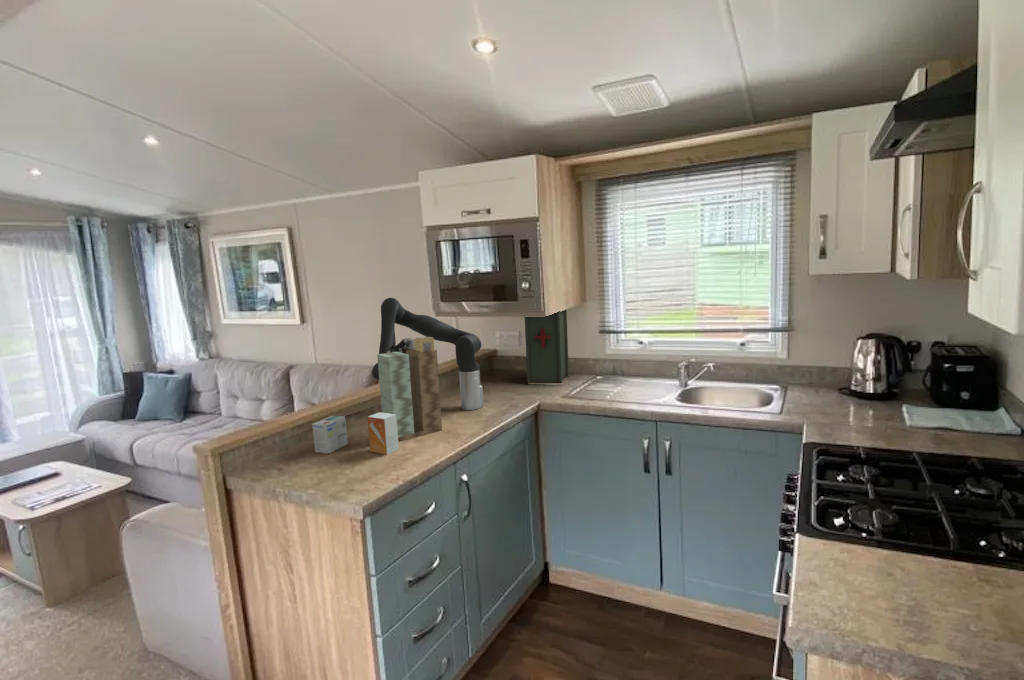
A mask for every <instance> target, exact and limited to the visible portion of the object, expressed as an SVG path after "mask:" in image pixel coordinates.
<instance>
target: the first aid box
mask: <svg viewBox="0 0 1024 680" xmlns="http://www.w3.org/2000/svg"><path fill="white" fill-rule="evenodd" d="M567 311H568V309H567V310H565V311H562V312H560V311H559V312H557V313H554V314H552V315H549V316H545V317H525V316H524V333H525V334H524V335H525V354H526V356H525V357H526V358H525V359H526V360H525V361H526V381H527V383H562V381H563V379H565V378H568V377H569V378H570V375H569V373H570V372H569V371H570V369H569V368H570V367H569V343H568V342H569V341H568V313H567Z"/></svg>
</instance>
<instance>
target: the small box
mask: <svg viewBox="0 0 1024 680" xmlns="http://www.w3.org/2000/svg"><path fill="white" fill-rule="evenodd" d="M367 427H368V441H369V451H370V452H371V453H376V454H381V455H386V456H388V455H390V454H392V453H394V452H396V451H398V450H400V448H399V441H398V433H397V420H396V414H389V413H382V411H381V412H376V413H374V414H371V415H369V416H367Z"/></svg>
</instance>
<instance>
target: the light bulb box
mask: <svg viewBox="0 0 1024 680" xmlns="http://www.w3.org/2000/svg"><path fill="white" fill-rule="evenodd" d="M311 425H312V434H313V436H312V437H313V443H314V444H313V445H314V452H315V453H319V452H321V453H320V454H328V453H329V454H331V453H333V452H335V451H337V450H339V449H341V448H343V447H345V446H346V445H348V442H349V441H348V434H347V423H346V416H341V415H330V416H328V417H326V418H324V419H321V420H319V421H316V422H314V423H311Z"/></svg>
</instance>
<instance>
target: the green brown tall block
mask: <svg viewBox="0 0 1024 680" xmlns="http://www.w3.org/2000/svg"><path fill="white" fill-rule="evenodd" d="M376 357H377V363H378V369H379V379H378V381H379V390H380V391H379V392H380V403H381V404H380V405H381V413H389V414H396V420H397V433H398V442H403V441H405V440H409V439H413V438H417V437H421V436H425V435H428V434H432V433H433V434H434V433H437V432H440V431H443V423H442V422H443V421H442V410H441V409H442V408H441V406H442V405H441V394H440V379H439V378H440V376H439V364H438V363H439V362H438V350H437V349H434V351H427V352H421V353H420V352H416V350H406V354H405V353H400V352H391V353H384V354H379V353H378V354H377V356H376Z"/></svg>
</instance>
